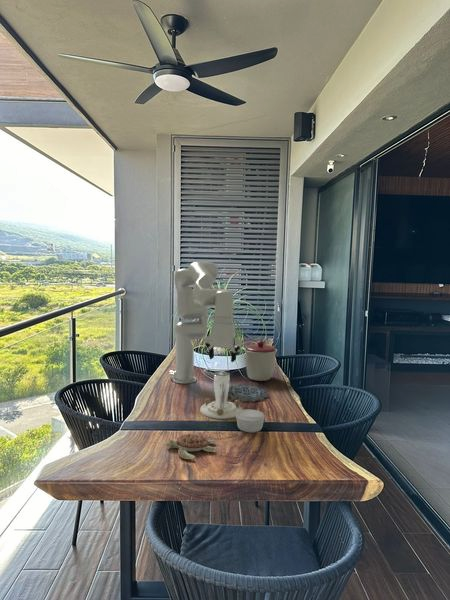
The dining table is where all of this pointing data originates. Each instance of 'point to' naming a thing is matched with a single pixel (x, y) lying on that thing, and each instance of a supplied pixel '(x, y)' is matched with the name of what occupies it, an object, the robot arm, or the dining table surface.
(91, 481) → the dining table surface
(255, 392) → the decorative tile
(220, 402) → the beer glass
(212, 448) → the decorative turtle
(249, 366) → the canister
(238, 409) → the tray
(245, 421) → the ramekin
